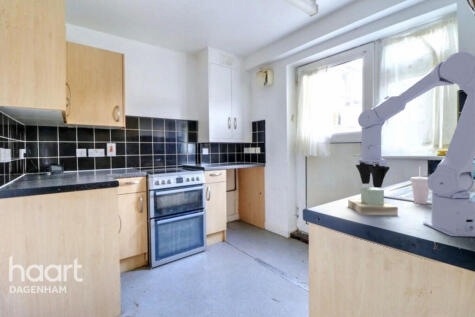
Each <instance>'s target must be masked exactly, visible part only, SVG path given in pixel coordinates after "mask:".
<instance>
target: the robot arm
mask: <svg viewBox="0 0 475 317" xmlns="http://www.w3.org/2000/svg"><path fill="white" fill-rule="evenodd" d="M454 84H455V85H457V86H458V87H459V88H460V89H461V90H462V91H463V92H464V93H465V94H466V95H467V96H466V99H465V101H464V104H463V108H462V110H461V112H460V115H459V118H458V121H457V123H456V126H455V129H454V132H453V134H452V137H451V138H450V139H451V140H450V143H449V145H448V147H447V151H446V153H445V156H444V158H443V159H442V160H441V161H440V162H439V163H438V164H437V166H436V168H435V170H434V172H432V173H431V174H430V175H429V176H428V177H427V178H428V181H427V183H428V187H429V191H431V221H423V222H422V223H423V224H424V225H426V226H428V227H430V228H432V229H435V230H437V231H439V232H441V233H444V234H446V235H448V236H450V237H475V201H473V200H472V199H471V194H470V193H469V190H471V189H472V188H473V187H474V184H475V180H474V176H473V175H474V171H475V165H474V159H475V55H473V54H471V53H470V52H467V51H459V52H455V53H453V54H451V55H449V56H447V57H446V58H445V59H444V60H443V61H440V62H439V63H437V64H435V65H434V66H433V67H432V69H430V70H429V72H427V73H426V74H424V75H423V76H422V77H420V78H419V79H418V80H417V81H415V82H414V83H413V84H411V85H410V86H409V87H407V88H406V89H404V90H403V91H402V92H400V93H399V94H392V95H387V96H386V97H383V98H384V100H383V101H382V102H380V103H378V104H377V105H373V106H372V107H371V109H365V110H363V111H362V112H361V113H360V114H359V116H358V119H357V121H358V122H357V123H358V125H359V126H360V127H361V157H358V163H357V164H355V167H356V170H357V172H359V176H360V180H361V183H362V184H363V185H369V184H370V183H371V180H372V185H373V187H376V188H382V186H383V183H384V179H385V178H386V175H387V173H388V171H389V170H390V166H388V160H387V159H385V158H382V131H383V126H384V124H385V123H386V121H388V120H390V119H391V118H393V117H394V116H396V115H397V114H399V113H401V112H403V111H404V110H405V108H406V106H407V104H408V103H410V102H412V101H413V100H415V99H416V98H418V97H420V96H422V95H423V94H425V93H427V92H428V91H430V90H432V89H434V88H436V87H441V86H442V87H443V86H451V85H452V86H453V85H454ZM371 178H372V179H371Z"/></svg>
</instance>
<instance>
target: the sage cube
mask: <svg viewBox="0 0 475 317" xmlns="http://www.w3.org/2000/svg"><path fill="white" fill-rule="evenodd" d="M360 200H361V202H363V203H365V204H368V205H384V202H385V190H384V189H382V188H380V187H374V186H373V187H360Z"/></svg>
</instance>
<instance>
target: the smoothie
mask: <svg viewBox="0 0 475 317" xmlns="http://www.w3.org/2000/svg"><path fill="white" fill-rule="evenodd" d="M421 172H422V166H418V176H412V177H410V181H411V188H412V197H413V202H414V204H419V205H427V203H428V198H429V194H430V188H429V187H428V183H427V181H428V178H429V177H425V176H421V175H422V173H421Z"/></svg>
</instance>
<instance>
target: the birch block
mask: <svg viewBox="0 0 475 317" xmlns="http://www.w3.org/2000/svg"><path fill="white" fill-rule="evenodd" d="M347 200H348V203H347V205H348V207H349V208H351V209H352V210H354V211H356V212H357V213H358V214H360V215H362V216H365V215H366V216H398V213H399V210H398V209H399V208H398V206H395V205H393V204H391V203H388V202H386V201H384V205H368V204H365V203H363V202H361V199H347Z"/></svg>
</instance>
